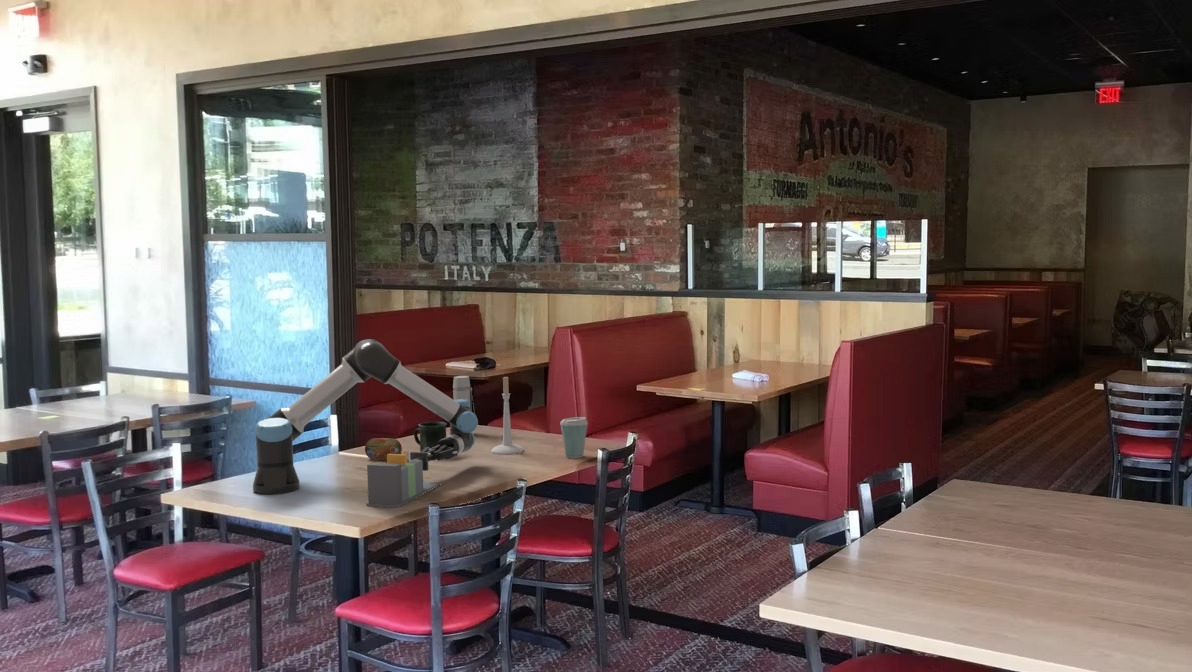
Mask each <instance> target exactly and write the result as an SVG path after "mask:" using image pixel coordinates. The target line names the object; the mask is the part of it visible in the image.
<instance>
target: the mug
mask: <svg viewBox="0 0 1192 672" xmlns="http://www.w3.org/2000/svg"><path fill="white" fill-rule="evenodd" d="M447 425H448V423H447V422H444V421H426V422H425V421H424V422H420V423H419V424H418V426H419V427H418V428H415V429H414V431H413V438H414V441H415V442H416V444H417V445H418V446H419V448H420V451H419V452H421V451H422V450H423V449H424V447H429V448H430V449H432V447H435V446H436V445H437V443H438V442H439V441H440V440H441V439H444V438H446V437H447ZM418 432H419V436H418Z"/></svg>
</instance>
